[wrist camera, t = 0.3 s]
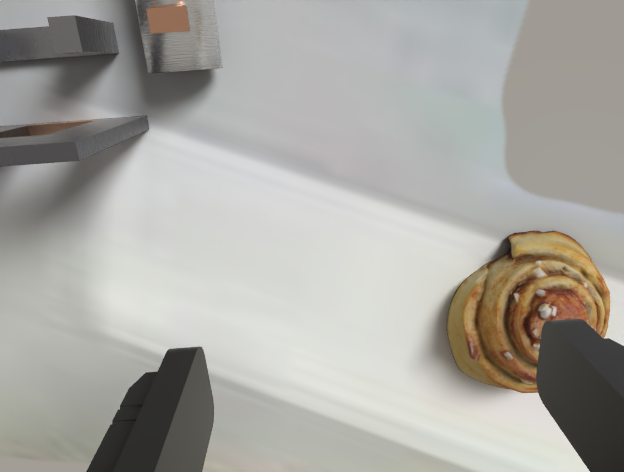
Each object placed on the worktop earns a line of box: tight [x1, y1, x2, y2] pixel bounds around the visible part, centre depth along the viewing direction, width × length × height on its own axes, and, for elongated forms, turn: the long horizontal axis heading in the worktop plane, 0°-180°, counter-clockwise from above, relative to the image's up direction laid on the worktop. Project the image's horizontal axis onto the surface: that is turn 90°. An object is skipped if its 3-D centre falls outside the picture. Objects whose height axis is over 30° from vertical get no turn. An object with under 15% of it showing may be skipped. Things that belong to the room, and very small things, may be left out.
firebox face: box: [0, 116, 149, 166], centre depth 30 cm, size 1×12×12 cm, turn 94°
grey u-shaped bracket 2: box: [0, 15, 119, 62], centre depth 31 cm, size 2×10×6 cm, turn 94°
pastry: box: [447, 231, 610, 393], centre depth 39 cm, size 13×15×8 cm
